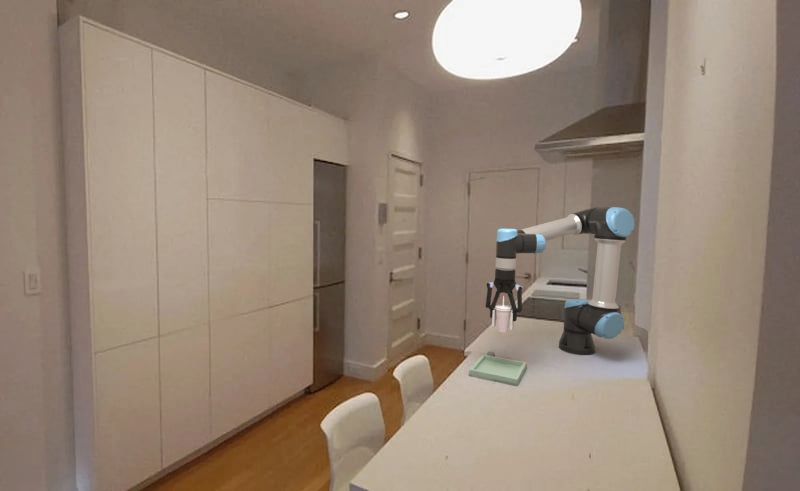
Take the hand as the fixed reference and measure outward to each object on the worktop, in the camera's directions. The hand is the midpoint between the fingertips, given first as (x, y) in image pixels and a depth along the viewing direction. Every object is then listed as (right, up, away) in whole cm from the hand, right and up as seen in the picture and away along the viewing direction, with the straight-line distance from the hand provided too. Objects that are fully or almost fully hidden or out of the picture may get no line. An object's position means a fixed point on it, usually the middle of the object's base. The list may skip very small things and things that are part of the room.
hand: (502, 327), depth 150 cm
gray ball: (-1, -17, +13) cm, 21 cm away
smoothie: (0, -2, 0) cm, 2 cm away
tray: (-1, -18, +1) cm, 18 cm away
